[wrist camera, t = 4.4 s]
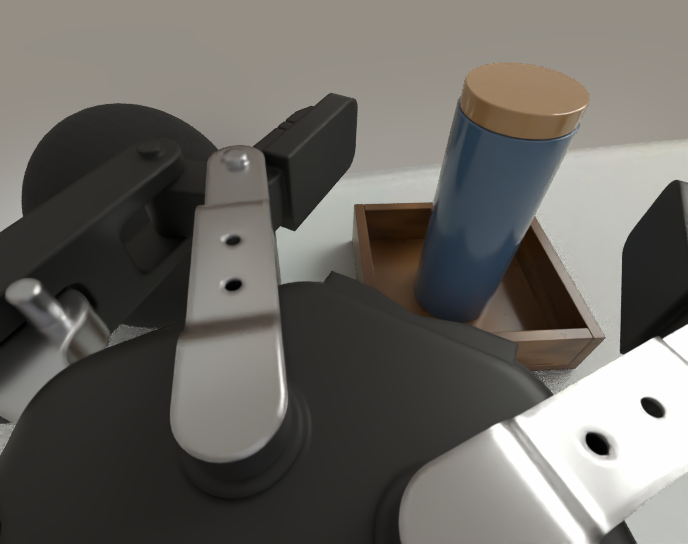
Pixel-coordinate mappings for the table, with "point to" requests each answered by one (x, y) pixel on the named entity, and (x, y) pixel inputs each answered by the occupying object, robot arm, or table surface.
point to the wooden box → (509, 300)
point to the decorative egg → (93, 150)
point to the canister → (493, 181)
